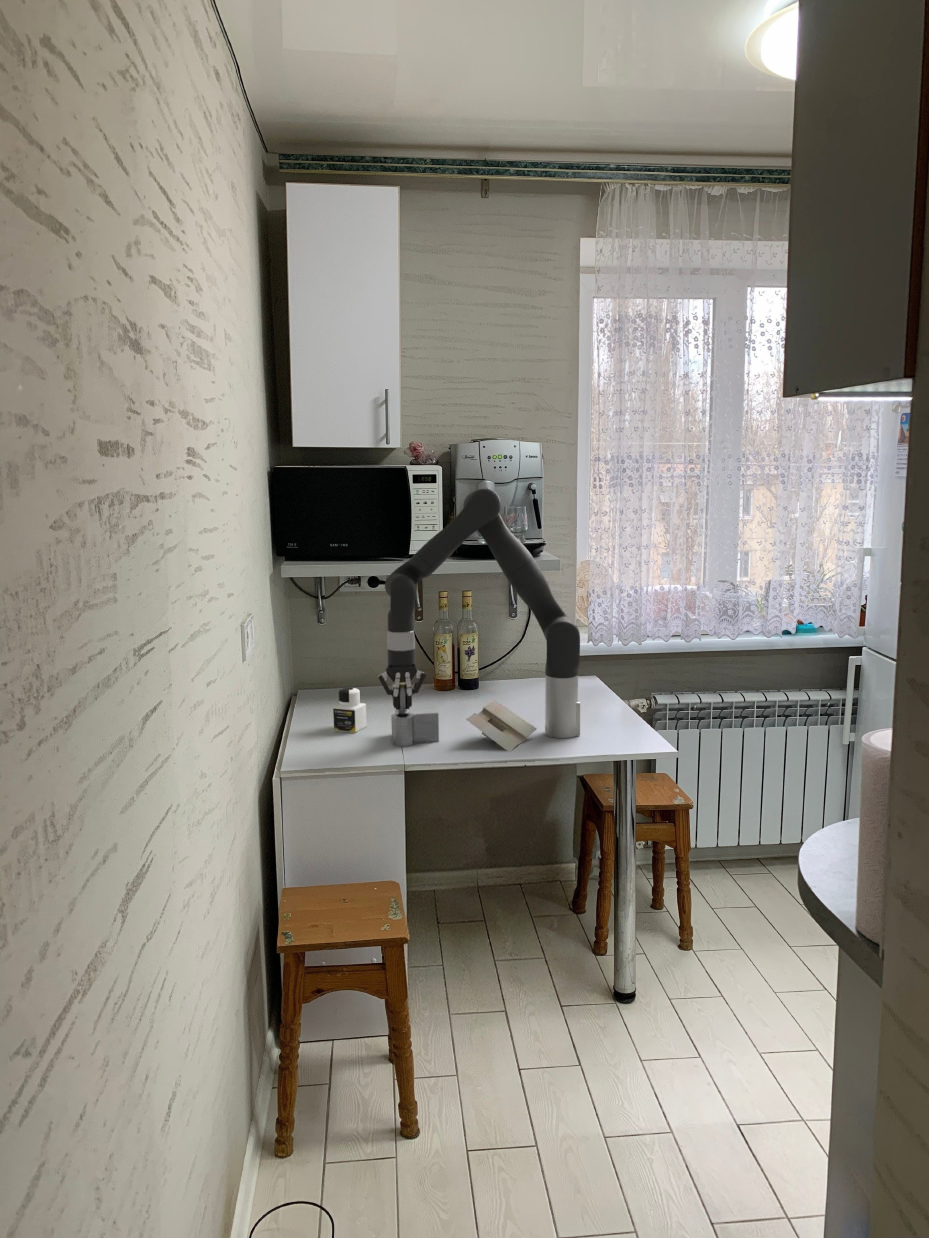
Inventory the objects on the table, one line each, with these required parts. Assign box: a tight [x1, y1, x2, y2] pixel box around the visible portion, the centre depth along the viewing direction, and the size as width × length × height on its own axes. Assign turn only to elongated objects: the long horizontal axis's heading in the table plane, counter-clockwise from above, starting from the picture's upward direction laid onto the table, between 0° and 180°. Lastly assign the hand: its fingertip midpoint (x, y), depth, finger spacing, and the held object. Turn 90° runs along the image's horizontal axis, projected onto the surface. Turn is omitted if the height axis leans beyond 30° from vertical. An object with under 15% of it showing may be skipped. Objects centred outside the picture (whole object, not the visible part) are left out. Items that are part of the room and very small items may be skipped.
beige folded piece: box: [465, 699, 537, 752], centre depth 255 cm, size 16×9×15 cm
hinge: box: [390, 709, 440, 748], centre depth 256 cm, size 13×13×8 cm
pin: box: [398, 682, 408, 717], centre depth 251 cm, size 3×3×13 cm
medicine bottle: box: [332, 687, 367, 734], centre depth 266 cm, size 7×7×12 cm
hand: (402, 708), depth 251 cm, fingers closed on pin, 2 cm apart
